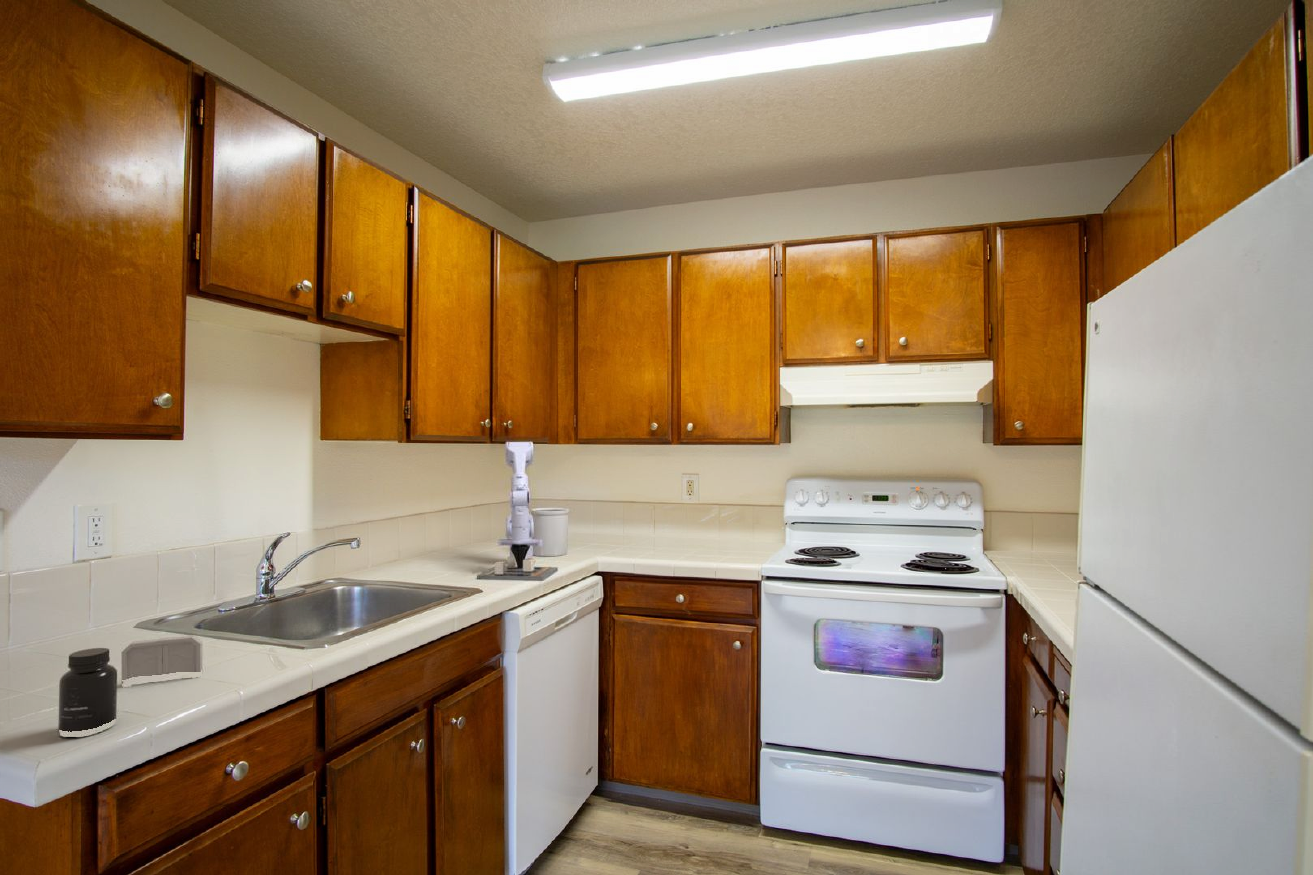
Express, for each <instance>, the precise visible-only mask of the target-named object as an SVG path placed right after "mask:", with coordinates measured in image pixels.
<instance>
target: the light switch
mask: <svg viewBox="0 0 1313 875" xmlns="http://www.w3.org/2000/svg"><path fill="white" fill-rule="evenodd" d="M201 670H202V671H203V640H202V639H200V638H198V637H197V635H195V634H193V635H184V636H175V637H163V638H155V639H146V640H145V639H143V640H135V641H132V642H131V643H130V644H128V645H127V646H126V648H124V649H123V650H122V651H121V681H122V680H126V679H129V678H132V677H138V676H152V675H162V674H169V673H176V672H201Z"/></svg>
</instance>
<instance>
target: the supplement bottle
mask: <svg viewBox="0 0 1313 875" xmlns="http://www.w3.org/2000/svg"><path fill="white" fill-rule="evenodd" d="M110 661H111V657H110V648H107V647H95V648H93V647H92V648H87V649H86V648H85V649H82V650H77V651H74V652H72V653H70V654H69V656H68V663H67V667H68V668H69V670H68V671H67V672H65V673H64V674H63V675H62V676H61V677H60V679H59V684H58V685H59V686H58V687H59V688H58V731H59V730H62V731H68V732H69V731H70V732H72V731H82V730H88V729H93V728H97V727H99V726H102V725H103V724H106V723H109V722H111V721H112V720H114V719H116V720H117V711H118V710H117V706H118V704H117V703H118V702H117V701H118V670H117V669H116V667H115V666H114V665H111V664H108V663H109V662H110Z"/></svg>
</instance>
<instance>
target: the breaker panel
mask: <svg viewBox="0 0 1313 875" xmlns="http://www.w3.org/2000/svg"><path fill="white" fill-rule="evenodd" d="M506 564H507V566H506ZM558 570H559V568H558V567H556V566H554V567H553V566H534V570H533V571H523V568H517V563H516V560H515V557H514V556H510V555H508V556H507V558H506V561H496V562H494V566H493V567H491V568H489V569H487V570H485V571H483V572H481V573H479V574H477V575H476V580H493V581H495V580H496V581H497V580H499V581H500V580H501V581H534V582H535V581H536V582H538V581H539V582H543V581H545V580H546V579H548V578H549V577H550V576H552V575H554V574H555V573H557V572H558Z"/></svg>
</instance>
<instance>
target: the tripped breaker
mask: <svg viewBox="0 0 1313 875" xmlns="http://www.w3.org/2000/svg"><path fill="white" fill-rule="evenodd" d="M534 560H535V559H534V558H533V559H531V558H528V559H525V560H523V571H533V570H534V567H535V562H534Z"/></svg>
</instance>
